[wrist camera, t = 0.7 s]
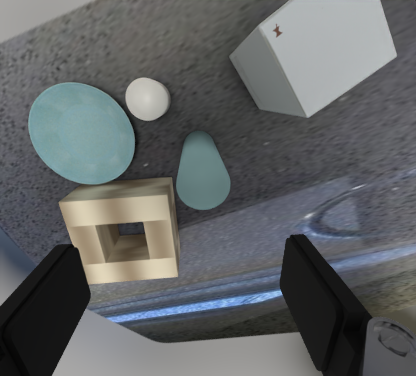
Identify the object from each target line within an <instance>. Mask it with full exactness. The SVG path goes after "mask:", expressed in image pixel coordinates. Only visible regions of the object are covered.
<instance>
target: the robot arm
mask: <svg viewBox="0 0 416 376" xmlns="http://www.w3.org/2000/svg"><path fill="white" fill-rule="evenodd" d="M280 289H281V292H282V294H283V296H284V299H285V301H286V303H287V305H288V307H289V310H290V312H291V314H292V316H293V319H294V321H295V323H296V325H297V327H298V330H299V332H300V334H301V336H302V339H303V341H304V343H305V345H306V347H307V350H308V352H309V354H310V356H311V359H312V361H313V363H314V365H315V367H316V369H317V370H318V371H322V374H323V376H416V335H415V334H414V333H413V332H412V331H411V330H409V329H408V328H407V327H405V326H404V325H402V324H400V323H398V322H396V321H394V320H391V319H388V318H384V317H375V318H372V316H371V315H370V314H369V313H368V311H367V310H366V309H365V308H364V306H363V305H362V304H361V303H360V301H359V300H358V299H357V298H356V297H355V295H354V294H353V293H352V292H351V290H350V289H349V288H348V287H347V285H346V284H345V283H344V282H343V280H342V279H341V278H340V277H339V275H338V274H337V273H336V272H335V271H334V269H333V268H332V267H331V266H330V265H329V264H328V263H327V262H326V261H325V259H324V258H323V257H322V256H321V254H320V253H319V252H318V251H317V249H316V248H315V247H314V246H313V244H312V243H311V242H310V241H309V239H308V238H307V237H306V236H305V235H304V234H298V235H291V236H290V238H287V239H286V244H285V250H284V257H283V264H282V270H281V277H280ZM90 297H91V293H90V289H89V285H88V282H87V278H86V274H85V271H84V267H83V264H82V260H81V257H80V253H79V250H78V248H77V247H74V245H73V244H60V245H56V246H55V247H54V248H53V249H52V250H51V252H50V253H49V254H48V255H47V256H46V257H45V258H44V259H43V260H42V261H41V262H40V264H39V265H38V266H37V267H36V268H35V269H34V270H33V271H32V272H31V273H30V275H29V276H28V277H27V278H26V279H25V280H24V281H23V282H22V283H21V284H20V285H19V287H18V288H17V289H16V290H15V291H14V292H13V293H12V294H11V295H10V296H9V297H8V298H7V300H6V301H5V302H4V303H3V304H2V305H1V306H0V376H52V374H53V372H54V370H55V368H56V366H57V364H58V362H59V360H60V358H61V356H62V354H63V352H64V350H65V348H66V346H67V345H68V343H69V340H70V339H71V336H72V335H73V333H74V331H75V329H76V327H77V325H78V322H79V321H80V319H81V317H82V315H83V313H84V311H85V309H86V307H87V305H88V303H89V301H90Z"/></svg>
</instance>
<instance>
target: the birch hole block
mask: <svg viewBox="0 0 416 376" xmlns="http://www.w3.org/2000/svg"><path fill="white" fill-rule="evenodd" d="M58 203H59V206H60V209H61V211H62V214H63V217H64V220H65V223H66V226H67V229H68V232H69V235H70V238H71V241H72V244H73V245H74V247H77V248H78V250H79V253H80V257H81V260H82V264H83V267H84V271H85V274H86V278H87V282H88V284H98V283H110V282H122V281H134V280H145V279H157V278H169V277H178V271H179V259H180V241H179V233H178V224H177V216H176V208H175V199H174V191H173V183H172V177H164V178H150V179H135V180H120V181H109V182H106V183H102V184H81V185H80V186H79V187H77V188H76V189H75V190H74V191H72V192H71V193H70V194H69V195H67V196H66V197H65V198H64V199H62V200H61V201H60V202H58ZM130 222H143V223H144V229H145V234H136V235H123V236H120V234H119V230H118V225H117V223H130Z"/></svg>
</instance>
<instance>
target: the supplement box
mask: <svg viewBox="0 0 416 376" xmlns="http://www.w3.org/2000/svg"><path fill="white" fill-rule="evenodd" d="M396 56H397V53H396V50H395V47H394V43H393V40H392V37H391V34H390V31H389V27H388V24H387V21H386V18H385V14H384V11H383V8H382V5H381V2H380V0H289V1H288V2H287V3H285V4H284V5H283V6H282V7H280V8H279V9H278V10H277V11H275V12H274V13H273V14H272V15H270V16H269V17H268V18H267V19H265V20H264V21H263V22H262V23H260V24H259V25H258V26H257V27H256V28H255V29H254V30H253V31H252V32H251V34H250V35H249V36H248V37H247V38H246V39H245V40H244V41H243V42H242V43H241V44H240V45H239V46H238V47H237V48H236V49H235V50H234V51H233V52H232V54H231V55H229V58H230V60H231V62H232V63H233V65H234V67H235V68H236V70H237V72H238V74H239V75H240V77H241V79H242V80H243V82H244V84H245V86H246V87H247V89H248V91H249V93H250V94H251V96H252V98H253V99H254V101H255V103H256V105H257V106H258V108H259V109H260V110H265V111H271V112H277V113H283V114H289V115H295V116H301V117H306V118H309V117H310V116H312V115H313V114H315V113H316V112H318V111H319V110H321V109H322V108H323V107H325V106H326V105H328V104H329V103H331V102H332V101H334V100H335V99H337V98H338V97H339V96H341V95H342V94H344V93H345V92H347V91H348V90H350V89H351V88H352V87H354V86H355V85H357V84H358V83H360V82H361V81H363V80H364V79H365V78H367V77H368V76H370V75H371V74H373V73H374V72H375V71H377V70H378V69H380V68H381V67H383V66H384V65H385V64H387V63H388V62H390V61H391V60H393V59H394V58H396Z"/></svg>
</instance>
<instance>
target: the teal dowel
mask: <svg viewBox="0 0 416 376" xmlns="http://www.w3.org/2000/svg"><path fill="white" fill-rule="evenodd" d="M176 189H177V193H178V195H179V197H180V199H181V200H182V201H183V202H184V203H185V204H186V205H188V206H190V207H192V208H194V209H199V210H207V209H211V208H214V207H216V206H218V205H219V204H221V203H222V202H223V201H224V200H225V199H226V197H227V196H228V194H229V191H230V178H229V175H228V172H227V170H226V168H225V166H224V164H223V161H222V159H221V157H220V155H219V152H218V150H217V148H216V146H215V144H214V141H213V139H212V137H211V136H210V135H209V134H208V133H206V132H204V131H194V132H192V133H190V134H189V135H188V136H187V137H186V139H185V141H184V145H183V150H182V155H181V160H180V165H179V171H178V176H177V181H176Z"/></svg>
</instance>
